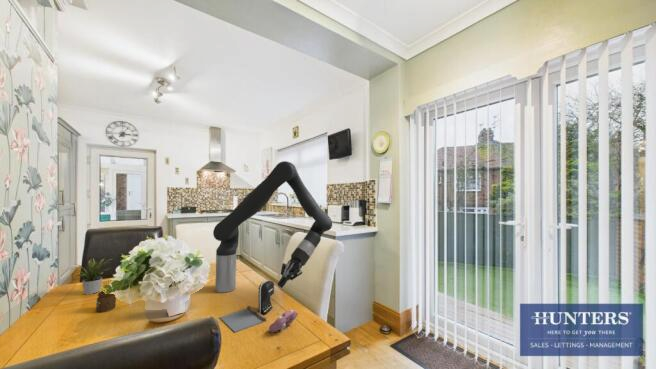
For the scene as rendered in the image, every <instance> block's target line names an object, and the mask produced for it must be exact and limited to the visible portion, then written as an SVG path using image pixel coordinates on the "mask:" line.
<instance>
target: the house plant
mask: <svg viewBox="0 0 656 369" xmlns="http://www.w3.org/2000/svg"><path fill="white" fill-rule="evenodd" d="M105 259H106V258H103V259H100V261H99V262H98V261H96V260H95V258H92V259H91V258H90V260H88V271H87V270H86V268H84V267H83V266H82V265H80V264H77V263H75V265H77V266H78V267H80V268H81V269H82V270H83V271H84V272H83V271H81V270H79V271H78V272H79V273H80V274H76V276H78V277H81V278H83V279H82V281H81V282H82V288H83V294H91V295H94V294H93V293H96V292H98V291H99V292H101V291H100V290H101V286H102V281H103V277H102V276H101V275H103V273H105V272H106V271H108V270H109V269H110V267H109V268H107V269H104V267H105V266H107V264H111V263H112V262H109V261H111V260H112V258H111V259H107V260H106V261H104V260H105ZM101 267H102V268H101ZM99 292H98V293H99ZM96 294H97V293H96Z"/></svg>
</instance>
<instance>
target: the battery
mask: <svg viewBox="0 0 656 369" xmlns="http://www.w3.org/2000/svg"><path fill="white" fill-rule="evenodd" d="M274 294H275V283H274V281H272V280H265V281H263V282H261V283H260V284H259V286H258V311H257V312H259V313H260V314H262V315H266V314H268V313H269V312H270V311H272V309H273V306H272V303H271V296H273V295H274Z"/></svg>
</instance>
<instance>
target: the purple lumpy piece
mask: <svg viewBox="0 0 656 369" xmlns="http://www.w3.org/2000/svg"><path fill="white" fill-rule="evenodd" d="M298 315H299V314H298V312H297V311H295V310H293V309H291V310H286V311H283V313H282V314H281V315H280V316H279V317H278V318H276V320H275V321H274V322H272V323H271V324H270V325H269V327H268V331H269V332H270V333H275V332H277V331H280V332H283V331H284V329H285V328H286V327H287V328H288V327H290V326H291V325H292V323H293V322H294V321H295V320H296V318H297V316H298Z"/></svg>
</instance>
